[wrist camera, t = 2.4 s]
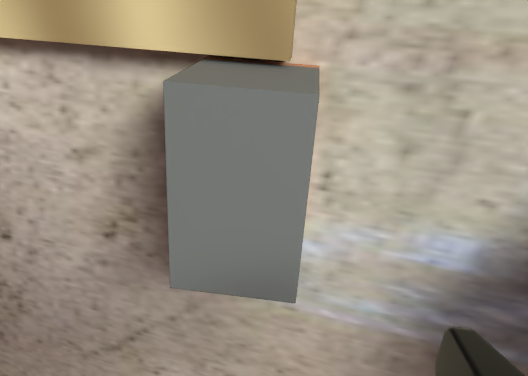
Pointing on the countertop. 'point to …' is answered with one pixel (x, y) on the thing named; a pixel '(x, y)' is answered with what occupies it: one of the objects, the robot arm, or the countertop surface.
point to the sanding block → (239, 175)
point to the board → (158, 25)
